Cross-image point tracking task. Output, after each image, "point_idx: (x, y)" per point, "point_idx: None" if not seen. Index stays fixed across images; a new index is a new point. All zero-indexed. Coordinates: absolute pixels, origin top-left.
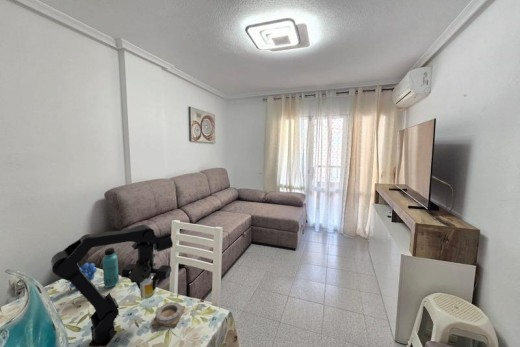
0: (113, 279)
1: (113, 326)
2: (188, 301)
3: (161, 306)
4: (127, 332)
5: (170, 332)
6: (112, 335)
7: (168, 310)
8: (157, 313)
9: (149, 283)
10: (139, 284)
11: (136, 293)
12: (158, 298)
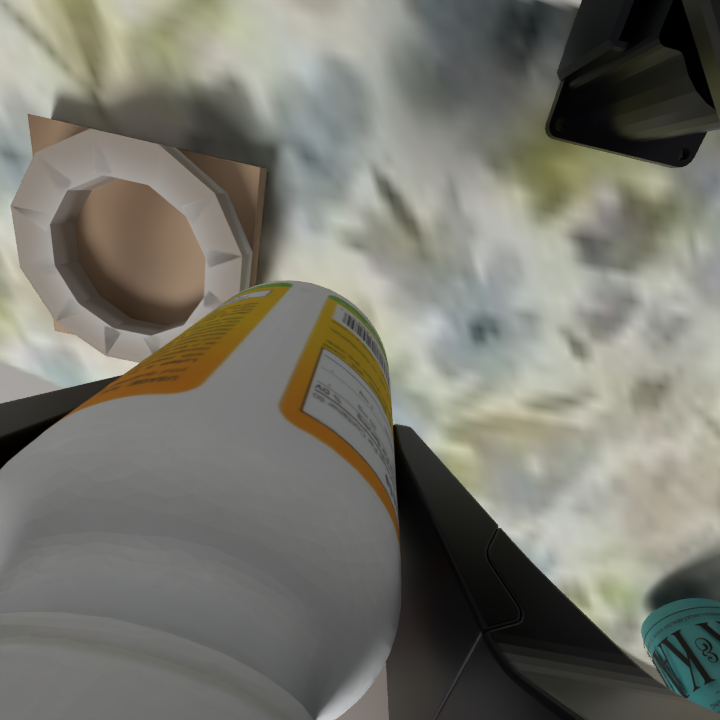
0: (704, 657)
1: (620, 21)
2: None
3: None
4: (453, 116)
5: (68, 49)
6: (583, 22)
7: (171, 298)
8: (225, 243)
9: (24, 448)
10: (416, 503)
11: None
12: None
